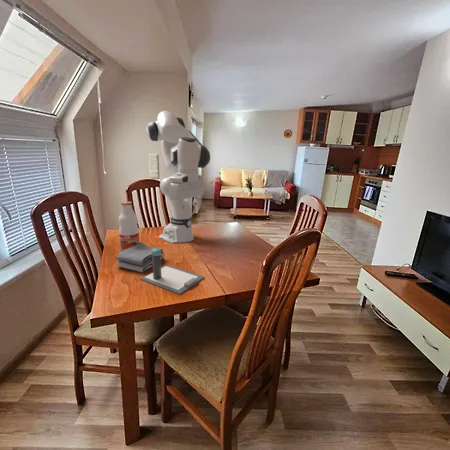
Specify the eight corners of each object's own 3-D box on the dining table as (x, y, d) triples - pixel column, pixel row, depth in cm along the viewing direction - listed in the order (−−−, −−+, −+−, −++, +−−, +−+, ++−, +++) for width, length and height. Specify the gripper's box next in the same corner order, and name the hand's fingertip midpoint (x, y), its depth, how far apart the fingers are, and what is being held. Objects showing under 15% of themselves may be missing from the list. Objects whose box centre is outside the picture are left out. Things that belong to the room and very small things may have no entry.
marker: (151, 278, 105) (149, 250, 102) (157, 274, 108) (156, 247, 105) (157, 280, 103) (155, 252, 100) (163, 277, 106) (162, 249, 103)
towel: (115, 268, 115) (114, 253, 113) (141, 254, 132) (140, 240, 130) (143, 274, 111) (142, 258, 108) (165, 259, 127) (165, 244, 125)
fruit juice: (142, 251, 136) (138, 200, 128) (137, 258, 127) (133, 204, 119) (125, 250, 136) (120, 200, 128) (118, 257, 127) (113, 204, 119)
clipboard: (140, 279, 106) (139, 275, 105) (166, 265, 119) (166, 262, 118) (179, 294, 95) (179, 290, 94) (204, 278, 108) (204, 274, 108)
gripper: (197, 174, 118) (196, 202, 123) (166, 177, 102) (167, 210, 106) (207, 175, 115) (207, 204, 120) (178, 179, 99) (178, 212, 103)
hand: (188, 207), depth 113 cm, fingers open, 8 cm apart
